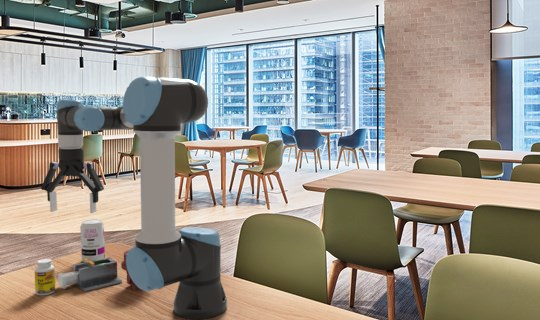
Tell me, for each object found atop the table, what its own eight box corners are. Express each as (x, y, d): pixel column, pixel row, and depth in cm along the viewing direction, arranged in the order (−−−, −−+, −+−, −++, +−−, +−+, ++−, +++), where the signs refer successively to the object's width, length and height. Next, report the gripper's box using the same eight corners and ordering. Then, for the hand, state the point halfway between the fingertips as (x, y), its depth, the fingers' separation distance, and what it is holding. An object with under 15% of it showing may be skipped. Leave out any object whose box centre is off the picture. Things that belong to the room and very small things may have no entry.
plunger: (99, 281, 148) (99, 262, 148) (64, 289, 141) (63, 269, 141) (92, 275, 154) (91, 256, 153) (57, 283, 147) (56, 263, 146)
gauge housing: (121, 282, 150) (121, 264, 149) (84, 291, 142) (83, 272, 142) (106, 271, 160) (105, 254, 160) (70, 279, 153) (70, 261, 152)
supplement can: (100, 255, 178) (99, 218, 176) (108, 261, 171) (106, 222, 170) (78, 259, 172) (77, 221, 171) (86, 265, 166) (84, 225, 165)
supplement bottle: (35, 297, 138) (33, 264, 137) (35, 290, 143) (34, 259, 142) (55, 294, 140) (54, 262, 139) (55, 288, 145) (54, 256, 144)
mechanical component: (159, 281, 151) (145, 293, 141) (131, 279, 153) (115, 290, 143) (158, 245, 150) (144, 254, 140) (130, 243, 152) (114, 252, 142)
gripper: (113, 147, 151) (114, 210, 153) (41, 146, 153) (43, 208, 155) (102, 149, 143) (104, 215, 146) (27, 148, 145) (30, 213, 148)
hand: (73, 211), depth 150 cm, fingers open, 13 cm apart
